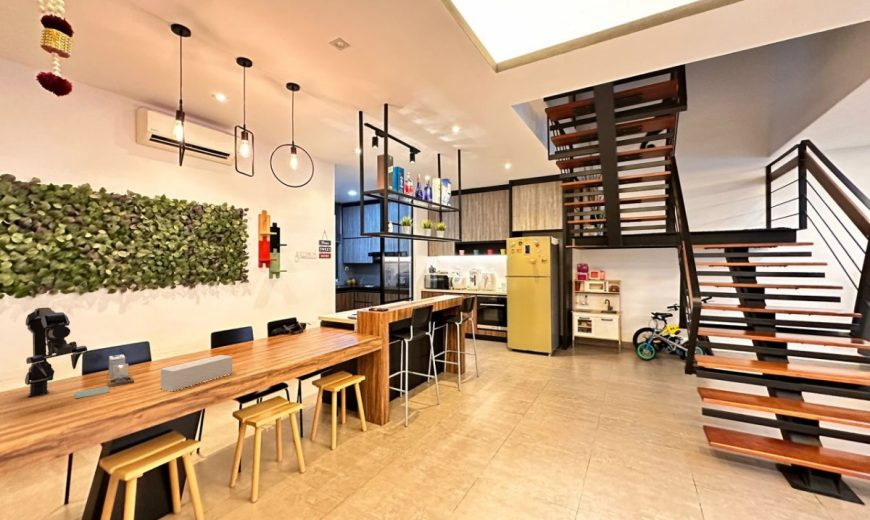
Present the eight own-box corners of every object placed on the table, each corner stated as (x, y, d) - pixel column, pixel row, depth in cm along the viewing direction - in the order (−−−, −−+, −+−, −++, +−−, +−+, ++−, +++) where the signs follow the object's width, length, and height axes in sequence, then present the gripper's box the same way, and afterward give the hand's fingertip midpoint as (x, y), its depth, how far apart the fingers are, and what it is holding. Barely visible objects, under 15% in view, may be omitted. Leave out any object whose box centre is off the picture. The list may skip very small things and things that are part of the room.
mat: (74, 393, 175) (75, 392, 175) (107, 386, 184) (107, 386, 184) (75, 399, 167) (75, 398, 167) (109, 392, 175) (109, 391, 175)
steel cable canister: (112, 383, 190) (113, 365, 190) (127, 380, 194) (127, 362, 194) (113, 385, 185) (114, 367, 186) (128, 383, 190) (128, 364, 190)
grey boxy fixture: (108, 374, 206) (108, 356, 206) (123, 371, 211) (123, 354, 211) (109, 378, 199) (110, 359, 199) (125, 375, 204) (125, 357, 204)
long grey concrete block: (221, 372, 210) (221, 354, 210) (232, 374, 205) (232, 356, 205) (160, 389, 181) (160, 368, 181) (172, 392, 176) (172, 371, 176)
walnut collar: (107, 383, 189) (107, 380, 189) (131, 378, 197) (131, 376, 197) (109, 387, 183) (109, 384, 183) (133, 382, 190) (134, 380, 190)
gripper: (33, 343, 150) (39, 379, 150) (90, 333, 167) (95, 364, 167) (23, 345, 155) (28, 380, 154) (79, 335, 172) (84, 366, 171)
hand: (61, 372), depth 162 cm, fingers open, 9 cm apart
